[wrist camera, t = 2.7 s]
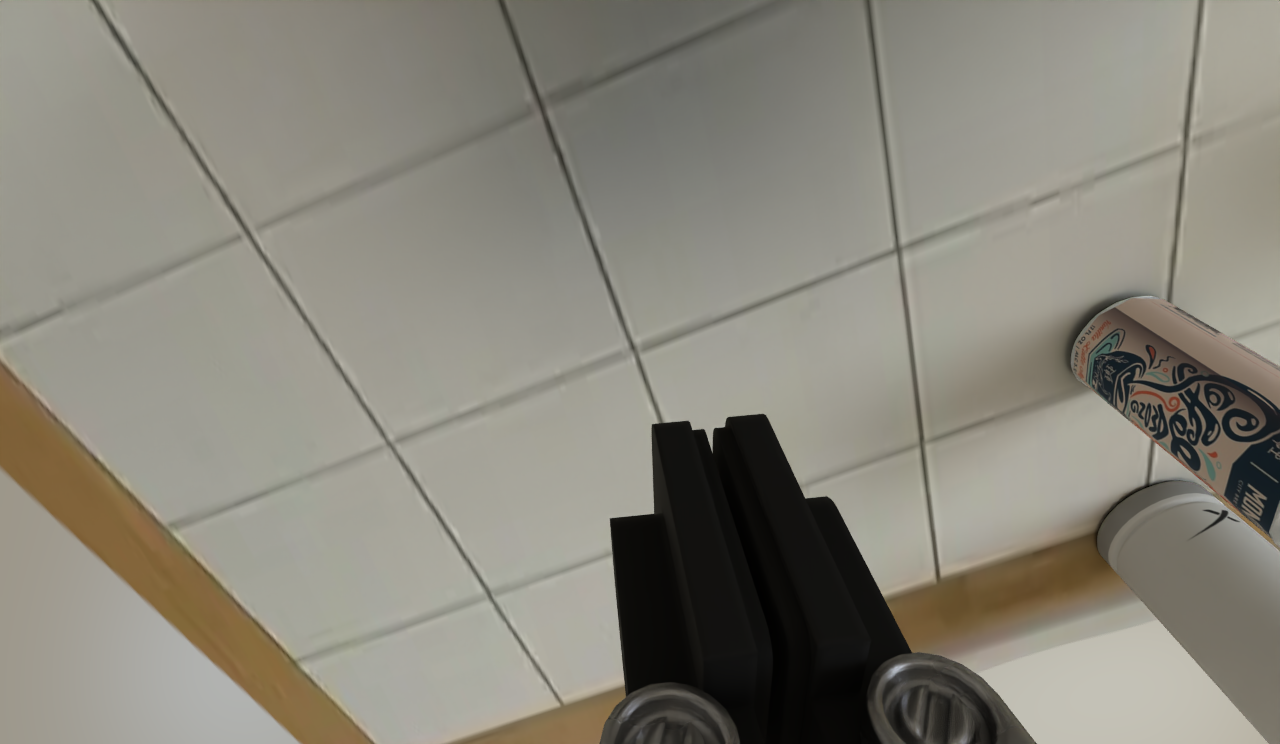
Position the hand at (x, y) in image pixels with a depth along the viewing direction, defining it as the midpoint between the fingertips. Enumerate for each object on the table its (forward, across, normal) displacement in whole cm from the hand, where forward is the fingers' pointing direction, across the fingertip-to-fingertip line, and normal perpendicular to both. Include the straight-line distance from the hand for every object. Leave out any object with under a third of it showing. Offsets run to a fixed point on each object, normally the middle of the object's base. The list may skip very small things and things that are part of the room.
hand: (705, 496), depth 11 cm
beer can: (+18, -22, +9) cm, 30 cm away
